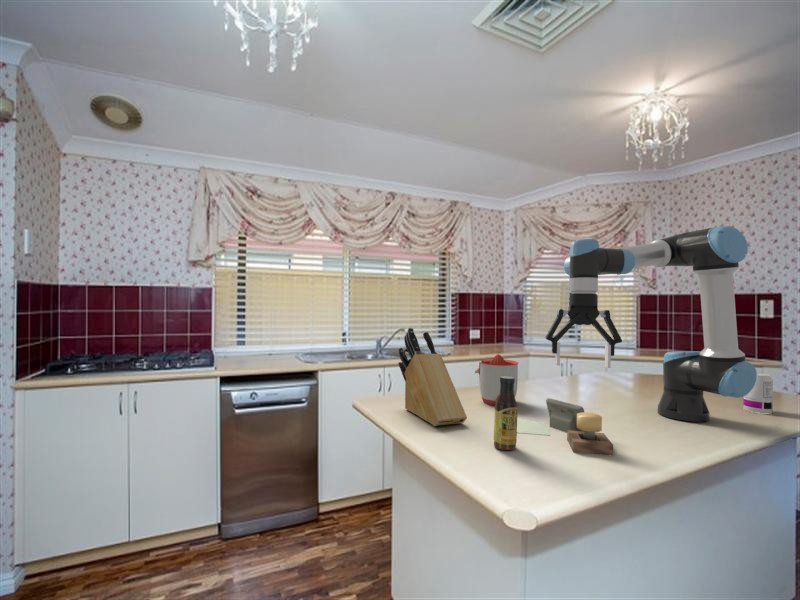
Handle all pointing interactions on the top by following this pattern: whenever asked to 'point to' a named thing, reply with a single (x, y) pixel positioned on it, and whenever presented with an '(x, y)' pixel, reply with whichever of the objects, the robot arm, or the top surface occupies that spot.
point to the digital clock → (563, 415)
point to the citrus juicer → (495, 377)
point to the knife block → (429, 384)
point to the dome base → (589, 443)
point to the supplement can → (760, 395)
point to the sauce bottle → (505, 415)
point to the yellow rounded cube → (589, 424)
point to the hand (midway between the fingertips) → (582, 366)
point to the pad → (531, 427)
